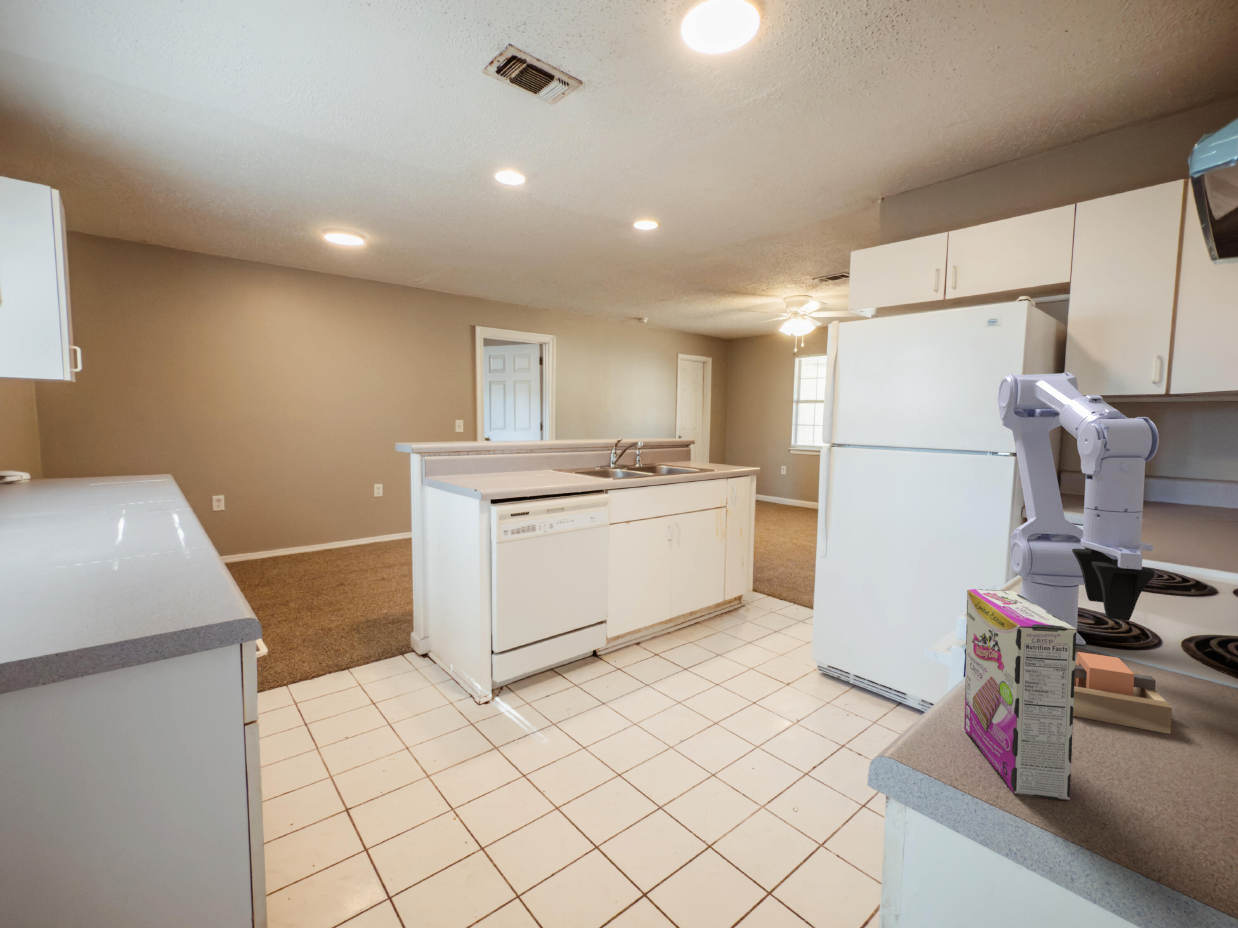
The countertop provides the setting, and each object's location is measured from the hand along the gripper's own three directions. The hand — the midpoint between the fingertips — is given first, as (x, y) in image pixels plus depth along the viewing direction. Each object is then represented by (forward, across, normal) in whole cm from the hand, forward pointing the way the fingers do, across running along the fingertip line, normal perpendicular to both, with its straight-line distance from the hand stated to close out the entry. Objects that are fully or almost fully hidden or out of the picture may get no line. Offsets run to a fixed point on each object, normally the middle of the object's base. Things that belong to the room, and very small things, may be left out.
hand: (1107, 609), depth 72 cm
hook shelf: (+9, -9, +2) cm, 13 cm away
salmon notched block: (+9, -9, +2) cm, 13 cm away
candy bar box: (+10, -28, +14) cm, 33 cm away
